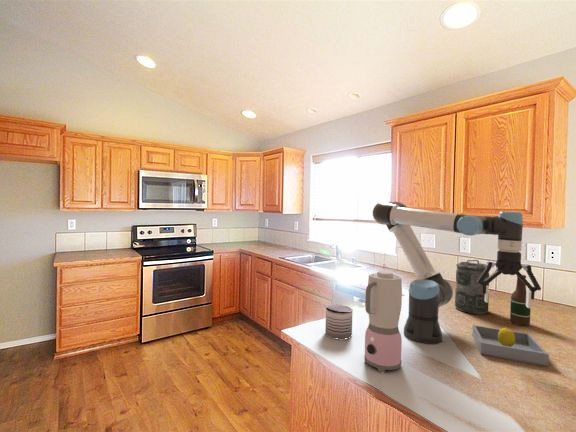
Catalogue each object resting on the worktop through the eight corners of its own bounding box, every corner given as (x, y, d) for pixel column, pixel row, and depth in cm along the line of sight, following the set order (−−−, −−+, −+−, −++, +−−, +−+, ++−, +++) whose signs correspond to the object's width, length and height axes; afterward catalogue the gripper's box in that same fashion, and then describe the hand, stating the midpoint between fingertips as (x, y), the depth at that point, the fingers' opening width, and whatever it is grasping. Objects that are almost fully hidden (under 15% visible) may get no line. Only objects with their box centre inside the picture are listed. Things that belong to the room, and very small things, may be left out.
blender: (379, 352, 111) (381, 267, 110) (408, 366, 101) (411, 273, 100) (350, 363, 102) (352, 271, 101) (379, 380, 92) (382, 278, 91)
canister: (470, 315, 154) (472, 262, 154) (448, 306, 170) (449, 257, 169) (495, 314, 158) (497, 262, 157) (471, 305, 173) (473, 257, 173)
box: (480, 354, 111) (481, 342, 111) (472, 334, 129) (472, 324, 129) (548, 367, 103) (548, 354, 103) (528, 344, 121) (529, 333, 121)
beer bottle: (511, 319, 150) (513, 272, 150) (531, 323, 145) (532, 275, 145) (508, 323, 145) (510, 274, 145) (528, 327, 139) (530, 277, 139)
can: (320, 331, 130) (321, 303, 129) (342, 327, 134) (343, 301, 134) (333, 341, 119) (334, 312, 119) (357, 338, 123) (358, 309, 123)
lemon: (498, 343, 120) (498, 323, 120) (515, 347, 116) (515, 327, 116) (496, 348, 116) (497, 327, 116) (514, 352, 112) (515, 331, 112)
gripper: (473, 249, 117) (471, 302, 118) (553, 255, 107) (550, 312, 107) (470, 247, 124) (468, 297, 125) (545, 252, 114) (543, 306, 114)
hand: (506, 304), depth 116 cm, fingers open, 13 cm apart
